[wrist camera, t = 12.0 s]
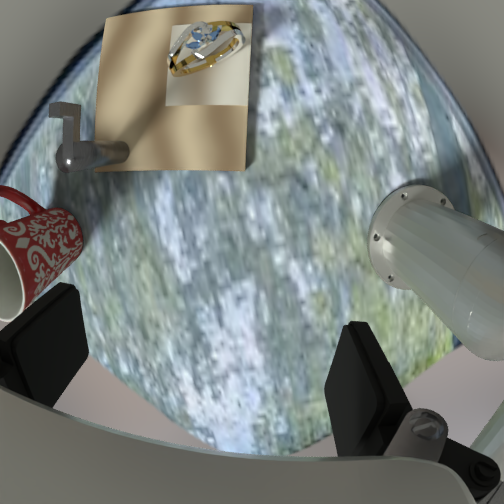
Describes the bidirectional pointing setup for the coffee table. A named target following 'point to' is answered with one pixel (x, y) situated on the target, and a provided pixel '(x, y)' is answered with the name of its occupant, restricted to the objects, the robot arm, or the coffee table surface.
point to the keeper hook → (83, 143)
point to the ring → (206, 36)
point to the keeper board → (173, 92)
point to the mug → (33, 252)
